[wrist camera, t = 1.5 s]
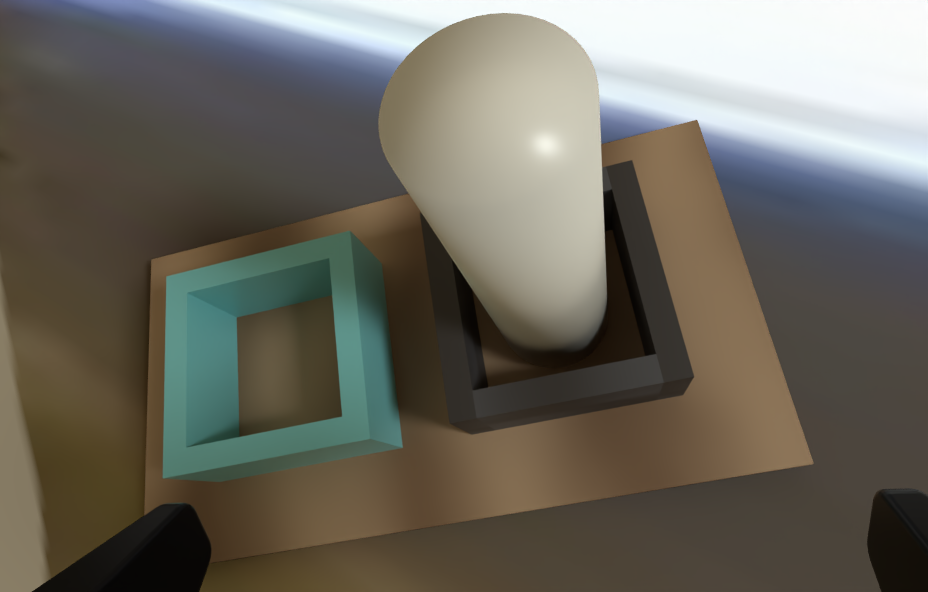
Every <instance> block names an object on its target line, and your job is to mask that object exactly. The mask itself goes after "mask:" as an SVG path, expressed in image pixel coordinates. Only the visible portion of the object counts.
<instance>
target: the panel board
mask: <svg viewBox="0 0 928 592" xmlns="http://www.w3.org/2000/svg"><path fill="white" fill-rule="evenodd" d="M601 157H602V182H603V207H604V232H605V257H606V282H607V307H608V321H607V327H606V331H605V334H604V336H603V338H602V340H601V342H600V343H599V345H598V346H597V348H596V349H595V350H594V351H593V352H592V353H591V354H590V355H589V356H587V357H586V358H585V359H583V360H581V361H580V362H578V363H575V364H573V365H570V366H567V367H561V368H545V367H540V366H536V365H534V364H531V363H529V362H527V361H525V360H524V359H522V358H521V357H519V356H518V355H517V354H516V353H515V352H514V351H513V350H512V348H511V347H510V346H509V344H508V343H507V341H506V340H505V338H504V337H503V335H502V334H501V332H500V331H499V329H498V328H497V326H496V325H495V323H494V322H493V320H492V319H491V317H490V316H489V314H488V313H487V311H486V310H485V308H484V306H483V305H482V303H481V302H480V300H479V299H478V297H477V296H476V294H475V293H474V291H473V290H472V288H471V287H470V285H469V284H468V282H467V281H466V279H465V278H464V276H463V275H462V273H461V272H460V270H459V269H458V267H457V266H456V264H455V263H454V261H453V260H452V258H451V257H450V255H449V254H448V252H447V251H446V249H445V248H444V246H443V244H442V243H441V241H440V240H439V238H438V237H437V235H436V234H435V232H434V231H433V229H432V228H431V226H430V225H429V223H428V222H427V220H426V219H425V217H424V216H423V214H422V213H421V211H420V210H419V208H418V207H417V205H416V204H415V202H414V201H413V199H412V198H411V196H410V195H409V194H406V195H402V196H398V197H394V198H390V199H386V200H382V201H378V202H374V203H370V204H367V205H363V206H359V207H355V208H351V209H347V210H343V211H339V212H335V213H331V214H327V215H324V216H320V217H316V218H312V219H308V220H304V221H300V222H296V223H292V224H288V225H285V226H281V227H277V228H273V229H269V230H265V231H261V232H257V233H253V234H249V235H245V236H242V237H238V238H234V239H230V240H226V241H222V242H218V243H214V244H210V245H206V246H202V247H199V248H195V249H191V250H187V251H183V252H179V253H175V254H171V255H167V256H163V257H159V258H156V259H152V260H151V294H150V329H149V365H148V401H147V436H146V472H145V508H144V515H146V514H147V513H149V512H150V511H152V510H153V509H155V508H156V507H158V506H159V505H162V504H166V503H188V504H190V505H192V506H193V507H194V508H195V510H196V512H197V514H198V516H199V518H200V520H201V522H202V525H203V527H204V529H205V531H206V533H207V535H208V537H209V539H210V542H211V547H212V553H211V559H210V562H209V563H215V562H221V561H227V560H233V559H239V558H245V557H252V556H258V555H264V554H270V553H276V552H282V551H288V550H294V549H300V548H306V547H313V546H319V545H325V544H331V543H337V542H343V541H349V540H355V539H361V538H367V537H373V536H380V535H386V534H392V533H398V532H404V531H410V530H416V529H422V528H428V527H434V526H441V525H447V524H453V523H459V522H465V521H471V520H477V519H483V518H489V517H495V516H502V515H508V514H514V513H520V512H526V511H532V510H538V509H544V508H550V507H556V506H562V505H569V504H575V503H581V502H587V501H593V500H599V499H605V498H611V497H617V496H623V495H630V494H636V493H642V492H648V491H654V490H660V489H666V488H672V487H678V486H684V485H690V484H697V483H703V482H709V481H715V480H721V479H727V478H733V477H739V476H745V475H751V474H758V473H764V472H770V471H776V470H782V469H788V468H794V467H800V466H806V465H810V464H814V463H813V460H812V457H811V454H810V452H809V449H808V446H807V443H806V440H805V437H804V434H803V431H802V428H801V425H800V422H799V419H798V416H797V413H796V410H795V407H794V404H793V401H792V398H791V395H790V392H789V390H788V387H787V384H786V381H785V378H784V375H783V372H782V369H781V366H780V363H779V360H778V357H777V354H776V351H775V348H774V345H773V342H772V339H771V336H770V333H769V330H768V328H767V325H766V322H765V319H764V316H763V313H762V310H761V307H760V304H759V301H758V298H757V295H756V292H755V289H754V286H753V283H752V280H751V277H750V274H749V271H748V268H747V266H746V263H745V260H744V257H743V254H742V251H741V248H740V245H739V242H738V239H737V236H736V233H735V230H734V227H733V224H732V221H731V218H730V215H729V212H728V209H727V206H726V204H725V201H724V198H723V195H722V192H721V189H720V186H719V183H718V180H717V177H716V174H715V171H714V168H713V165H712V162H711V159H710V156H709V153H708V150H707V147H706V145H705V142H704V139H703V136H702V133H701V130H700V127H699V124H698V121H697V120H695V121H691V122H687V123H683V124H679V125H675V126H671V127H667V128H664V129H660V130H656V131H652V132H648V133H644V134H640V135H636V136H632V137H628V138H624V139H621V140H617V141H613V142H609V143H605V144H601ZM346 231H351V232H352V233H353V234H354V235H355V236H356V237H357V238H358V239H359V240H360V241H361V242H362V243H363V245H364V246H365V247H366V248H367V249H368V250H369V251H370V252H371V253H372V254H373V255H374V256H375V257H376V258H377V259H378V260H379V261H380V262H381V263H382V270H383V279H384V288H385V297H386V305H387V314H388V323H389V332H390V340H391V349H392V358H393V367H394V375H395V384H396V393H397V402H398V410H399V419H400V428H401V437H402V445H403V448H399V449H394V450H388V451H383V452H378V453H372V454H367V455H362V456H356V457H351V458H346V459H340V460H335V461H330V462H324V463H319V464H313V465H308V466H303V467H297V468H292V469H287V470H281V471H276V472H271V473H265V474H260V475H255V476H249V477H244V478H239V479H233V480H228V481H223V482H212V481H195V480H179V479H163V435H164V381H165V327H166V276H170V275H174V274H178V273H182V272H186V271H190V270H194V269H198V268H202V267H206V266H210V265H214V264H218V263H222V262H226V261H230V260H234V259H238V258H242V257H246V256H250V255H254V254H258V253H262V252H266V251H270V250H274V249H278V248H282V247H286V246H290V245H294V244H298V243H302V242H306V241H310V240H314V239H318V238H322V237H326V236H330V235H334V234H338V233H342V232H346ZM237 355H238V397H239V437H242V436H247V435H252V434H257V433H262V432H267V431H272V430H277V429H282V428H287V427H292V426H297V425H302V424H308V423H313V422H318V421H323V420H328V419H333V418H338V417H342V408H341V396H340V383H339V371H338V359H337V347H336V335H335V322H334V310H333V298H332V295H331V296H327V297H322V298H318V299H314V300H310V301H305V302H301V303H297V304H292V305H288V306H284V307H279V308H275V309H271V310H267V311H262V312H258V313H254V314H249V315H245V316H241V317H237Z"/></svg>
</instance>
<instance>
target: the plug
mask: <svg viewBox="0 0 928 592" xmlns="http://www.w3.org/2000/svg"><path fill="white" fill-rule="evenodd" d="M379 136H380V141H381V145H382V149H383V151H384V154H385V156H386V159H387V161H388V162H389V164H390V166H391V167H392V169H393V170H394V172H395V173H396V175H397V176H398V178H399V179H400V181H401V182H402V184H403V186H404V187H405V189H406V190H407V192H408V193H409V195H410V196H411V198H412V199H413V201H414V202H415V204H416V205H417V207H418V208H419V210H420V211H421V213H422V214H423V216H424V217H425V219H426V220H427V222H428V223H429V225H430V226H431V228H432V229H433V231H434V232H435V234H436V235H437V237H438V238H439V240H440V241H441V243H442V244H443V246H444V248H445V249H446V251H447V252H448V254H449V255H450V257H451V258H452V260H453V261H454V263H455V264H456V266H457V267H458V269H459V270H460V272H461V273H462V275H463V276H464V278H465V279H466V281H467V282H468V284H469V285H470V287H471V288H472V290H473V291H474V293H475V294H476V296H477V297H478V299H479V300H480V302H481V303H482V305H483V306H484V308H485V310H486V311H487V313H488V314H489V316H490V317H491V319H492V320H493V322H494V323H495V325H496V326H497V328H498V329H499V331H500V332H501V334H502V335H503V337H504V338H505V340H506V341H507V343H508V344H509V346H510V347H511V348H512V350H513V351H514V352H515V353H516V354H517V355H518V356H519V357H521V358H522V359H524V360H525V361H527V362H529V363H531V364H534V365H536V366H540V367H545V368H561V367H567V366H570V365H573V364H575V363H578V362H580V361H581V360H583V359H585V358H586V357H587V356H589V355H590V354H591V353H592V352H593V351H594V350H595V349H596V348H597V346H598V345H599V343H600V342H601V340H602V338H603V336H604V334H605V331H606V327H607V321H608V307H607V282H606V257H605V232H604V207H603V182H602V157H601V132H600V107H599V89H598V81H597V77H596V72H595V70H594V67H593V65H592V62H591V60H590V58H589V57H588V55H587V53H586V52H585V50H584V49H583V48H582V47H581V45H580V44H579V43H578V42H577V41H576V40H575V39H574V38H573V37H572V36H570V35H569V34H568V33H567V32H566V31H564V30H562V29H561V28H559V27H558V26H556V25H554V24H552V23H549V22H547V21H545V20H542V19H539V18H536V17H532V16H527V15H521V14H510V13H500V14H488V15H482V16H476V17H473V18H469V19H465V20H462V21H460V22H457V23H455V24H452V25H450V26H448V27H446V28H444V29H442V30H440V31H438V32H437V33H435V34H433V35H432V36H430V37H429V38H427V39H426V40H425V41H423V42H422V43H421V44H420V45H418V46H417V47H416V48H415V49H414V50H413V51H412V52H411V53H410V54H409V55H408V56H407V57H406V58H405V59H404V61H403V62H402V63H401V64H400V65H399V67H398V68H397V70H396V71H395V73H394V74H393V76H392V77H391V79H390V81H389V83H388V86H387V88H386V90H385V93H384V96H383V99H382V102H381V107H380V112H379Z"/></svg>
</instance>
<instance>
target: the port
mask: <svg viewBox="0 0 928 592" xmlns="http://www.w3.org/2000/svg"><path fill="white" fill-rule="evenodd" d="M331 295H332V298H333V310H334V322H335V335H336V347H337V359H338V371H339V383H340V396H341V408H342V417H338V418H333V419H328V420H323V421H318V422H313V423H308V424H302V425H297V426H292V427H287V428H282V429H277V430H272V431H267V432H262V433H257V434H252V435H247V436H242V437H239V397H238V355H237V317H241V316H245V315H249V314H254V313H258V312H262V311H267V310H271V309H275V308H279V307H284V306H288V305H292V304H297V303H301V302H305V301H310V300H314V299H318V298H322V297H327V296H331ZM399 448H403V445H402V437H401V428H400V419H399V410H398V402H397V393H396V384H395V375H394V367H393V358H392V349H391V340H390V332H389V323H388V314H387V305H386V297H385V288H384V279H383V270H382V263H381V262H380V261H379V260H378V259H377V258H376V257H375V256H374V255H373V254H372V253H371V252H370V251H369V250H368V249H367V248H366V247H365V246H364V245H363V243H362V242H361V241H360V240H359V239H358V238H357V237H356V236H355V235H354V234H353V233H352V232H351V231H346V232H342V233H338V234H334V235H330V236H326V237H322V238H318V239H314V240H310V241H306V242H302V243H298V244H294V245H290V246H286V247H282V248H278V249H274V250H270V251H266V252H262V253H258V254H254V255H250V256H246V257H242V258H238V259H234V260H230V261H226V262H222V263H218V264H214V265H210V266H206V267H202V268H198V269H194V270H190V271H186V272H182V273H178V274H174V275H170V276H166V327H165V381H164V435H163V479H179V480H195V481H212V482H223V481H228V480H233V479H239V478H244V477H249V476H255V475H260V474H265V473H271V472H276V471H281V470H287V469H292V468H297V467H303V466H308V465H313V464H319V463H324V462H330V461H335V460H340V459H346V458H351V457H356V456H362V455H367V454H372V453H378V452H383V451H388V450H394V449H399Z"/></svg>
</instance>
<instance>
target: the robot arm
mask: <svg viewBox="0 0 928 592" xmlns="http://www.w3.org/2000/svg"><path fill="white" fill-rule="evenodd" d="M867 546H868V553H869V557H870V561H871V564H872V567H873V569H874V572H875V575H876V578H877V580H878V583H879V586H880V589H881V592H928V495H926V494H925V493H923V492H921V491H919V490H916V489H882V490H879V491H878V492H876V494H875V496H874V499H873V505H872V511H871V518H870V525H869V531H868V539H867ZM211 553H212V547H211V542H210V539H209V537H208V535H207V533H206V531H205V529H204V527H203V525H202V522H201V520H200V518H199V516H198V514H197V512H196V510H195V508H194V507H193V506H192V505H190V504H188V503H166V504H162V505H159V506H158V507H156V508H155V509H153V510H152V511H150V512H149V513H147V514H146V515H144V516H143V517H141V518H140V519H138V520H137V521H135V522H134V523H133V524H131V525H130V526H128V527H127V528H125V529H124V530H122V531H121V532H119V533H118V534H116V535H115V536H113V537H112V538H110V539H109V540H107V541H106V542H104V543H103V544H102V545H100V546H99V547H97V548H96V549H94V550H93V551H91V552H90V553H88V554H87V555H85V556H84V557H82V558H81V559H79V560H78V561H76V562H75V563H73V564H72V565H71V566H69V567H68V568H66V569H65V570H63V571H62V572H60V573H59V574H57V575H56V576H54V577H53V578H51V579H50V580H48V581H47V582H45V583H44V584H43V585H41V586H40V587H38V588H37V589H35V590H34V591H32V592H199V591H200V588H201V585H202V582H203V579H204V576H205V574H206V571H207V568H208V565H209V562H210V559H211Z"/></svg>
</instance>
